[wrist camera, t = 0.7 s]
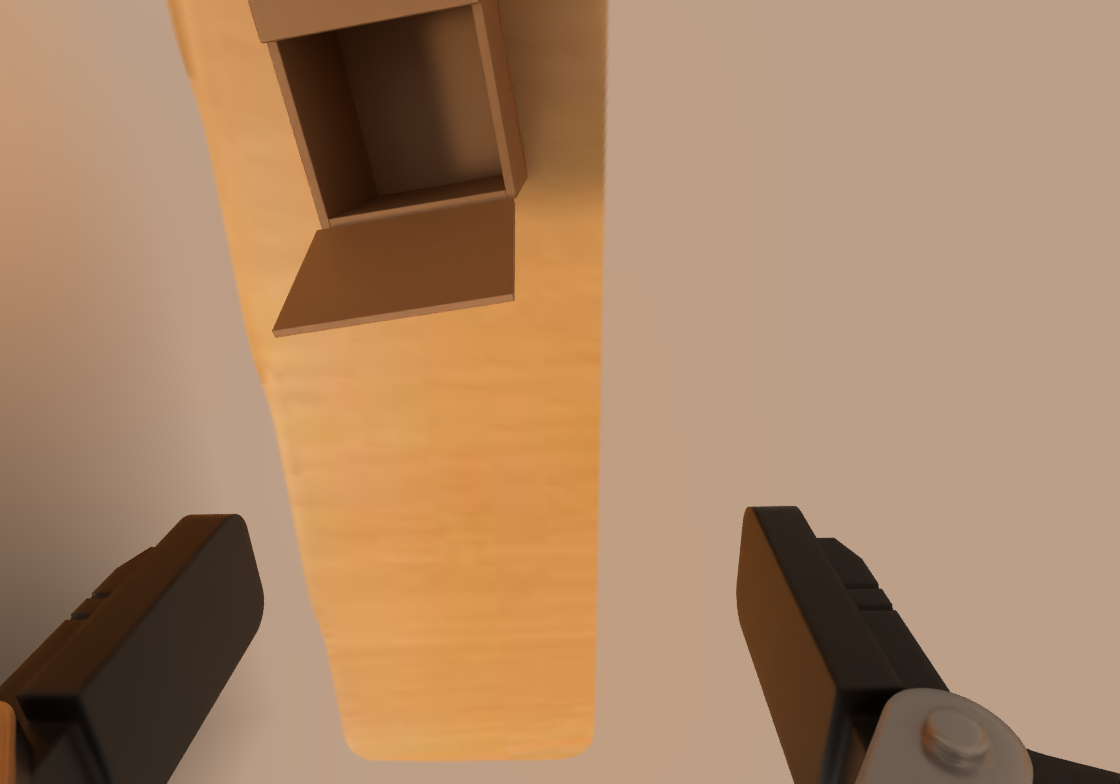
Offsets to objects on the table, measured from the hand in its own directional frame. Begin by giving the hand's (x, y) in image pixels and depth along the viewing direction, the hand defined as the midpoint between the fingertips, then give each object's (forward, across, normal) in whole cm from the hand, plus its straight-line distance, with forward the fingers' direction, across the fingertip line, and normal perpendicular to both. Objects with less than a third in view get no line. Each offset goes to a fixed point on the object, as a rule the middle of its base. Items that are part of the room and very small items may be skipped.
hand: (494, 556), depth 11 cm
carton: (+28, +6, -10) cm, 30 cm away
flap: (+15, +5, -2) cm, 16 cm away
